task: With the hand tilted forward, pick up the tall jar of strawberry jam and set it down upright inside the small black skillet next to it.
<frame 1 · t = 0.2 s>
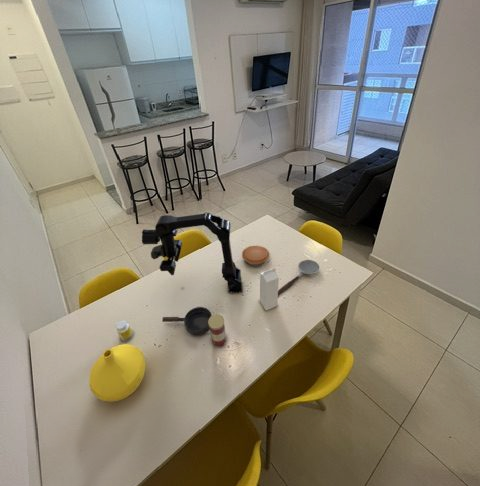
hand: (174, 268, 123), 15 cm above the table, tool pointing down, fingers open, 9 cm apart
pie: (255, 259, 147), on the table
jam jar: (219, 339, 108), on the table
spoon: (294, 281, 132), on the table
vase: (124, 381, 96), on the table
supplement bottle: (127, 336, 111), on the table
milk: (268, 303, 122), on the table
pan: (199, 323, 114), on the table
pan handle: (173, 319, 112), point 3 cm above the table
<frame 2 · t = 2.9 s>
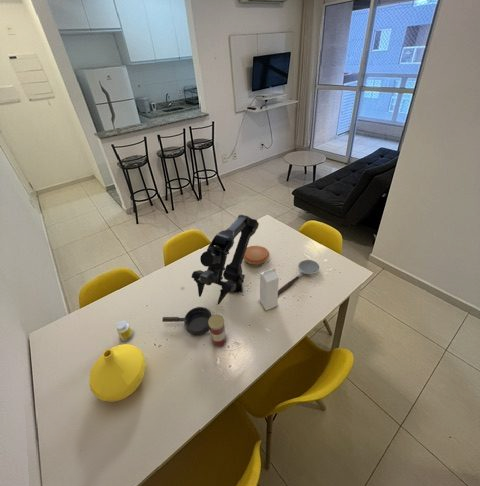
hand: (208, 300, 107), 14 cm above the table, tool tilted 35°, fingers open, 9 cm apart
nothing on the table moved.
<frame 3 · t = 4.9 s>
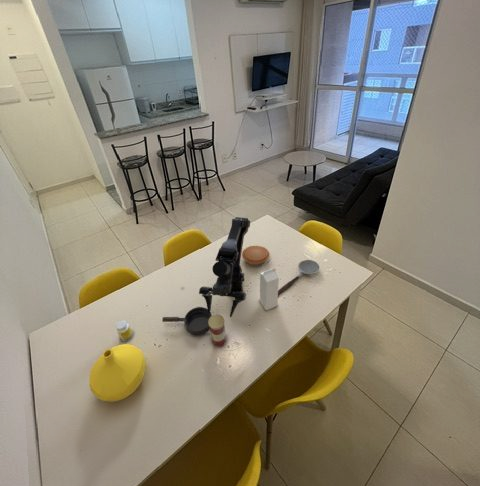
hand: (219, 315, 105), 11 cm above the table, tool tilted 45°, fingers open, 9 cm apart
nothing on the table moved.
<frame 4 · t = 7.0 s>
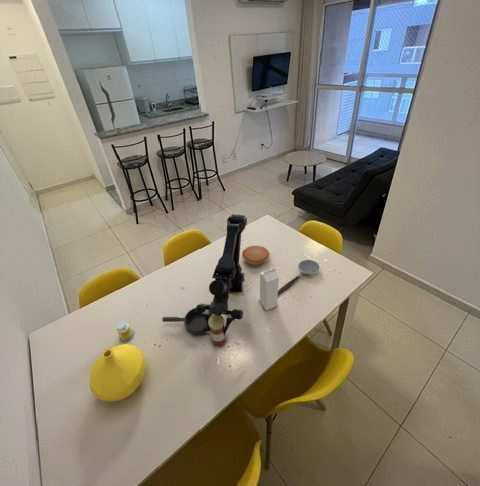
hand: (216, 333, 103), 7 cm above the table, tool tilted 45°, fingers closed on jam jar, 6 cm apart
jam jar: (219, 339, 108), on the table, touching gripper
everything else where it was.
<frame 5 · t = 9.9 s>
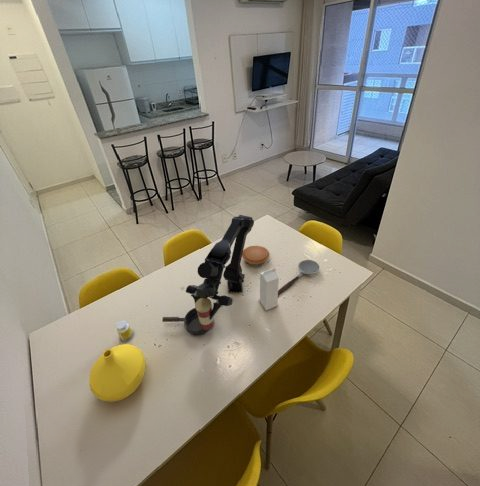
hand: (203, 316, 102), 13 cm above the table, tool tilted 45°, fingers closed on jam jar, 6 cm apart
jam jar: (207, 323, 106), point 7 cm above the table, touching gripper
everything else where it was.
when the fingers open (7 cm above the table, at t = 13.2 s): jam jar stays where it is, resting on pan.
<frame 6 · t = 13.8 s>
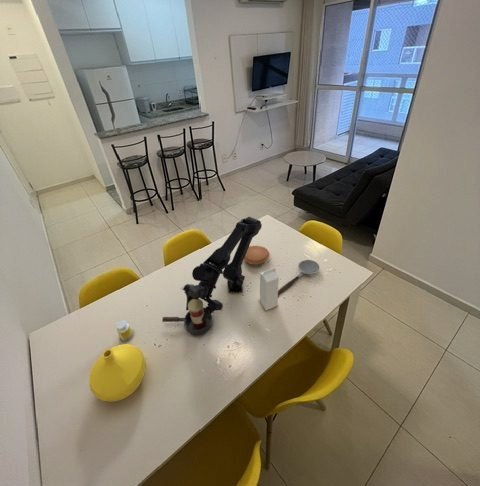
hand: (194, 315, 109), 8 cm above the table, tool tilted 45°, fingers open, 9 cm apart
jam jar: (199, 323, 114), resting on pan
everything else where it was.
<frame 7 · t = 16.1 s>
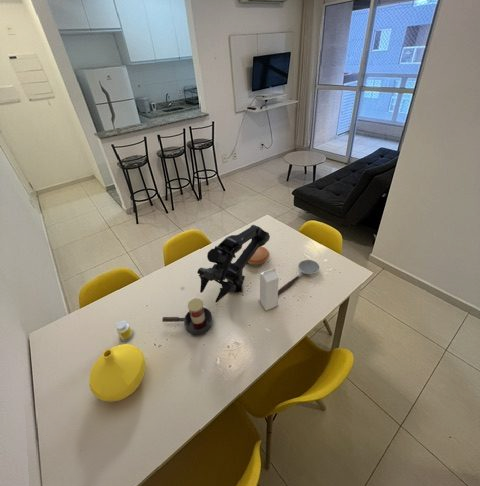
hand: (208, 297, 113), 10 cm above the table, tool tilted 45°, fingers open, 9 cm apart
nothing on the table moved.
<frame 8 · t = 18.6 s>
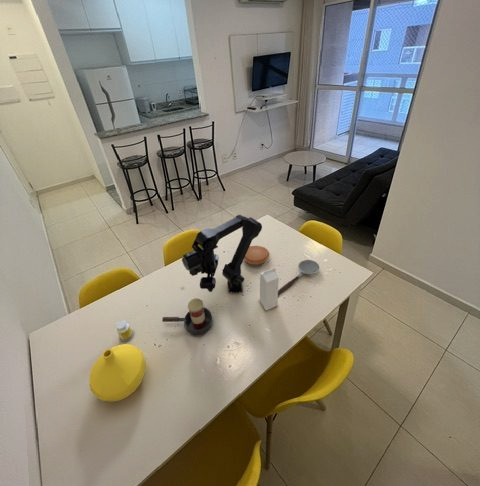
hand: (211, 283, 117), 12 cm above the table, tool pointing down, fingers open, 9 cm apart
nothing on the table moved.
at the end: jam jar 0.1 cm off-centre in the pan, point 0.5 cm above the pan's base; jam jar tilted 0°; the gripper is holding nothing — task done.
